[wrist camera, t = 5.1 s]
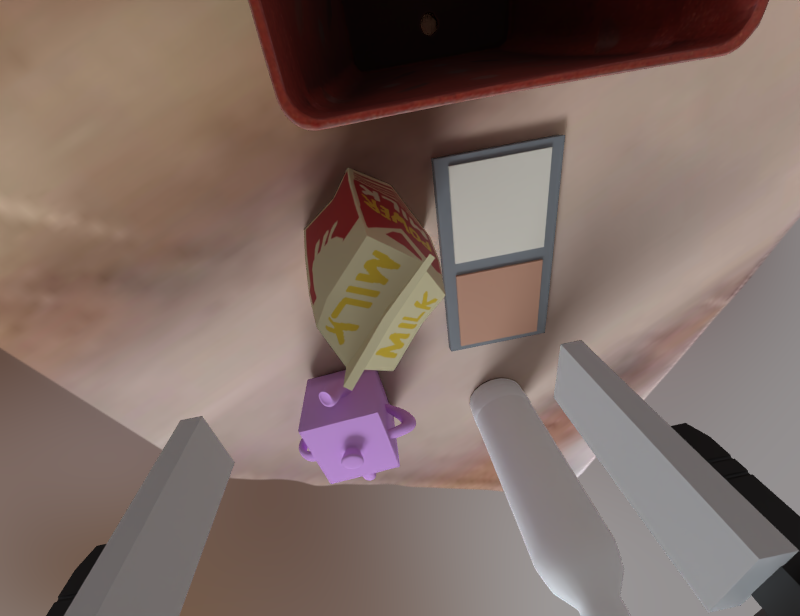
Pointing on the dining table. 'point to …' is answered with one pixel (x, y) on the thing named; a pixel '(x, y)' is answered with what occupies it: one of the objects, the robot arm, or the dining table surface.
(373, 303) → the milk carton
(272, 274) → the dining table surface
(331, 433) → the purple boxy tea kettle
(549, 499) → the bottle
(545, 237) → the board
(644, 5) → the plant pot
